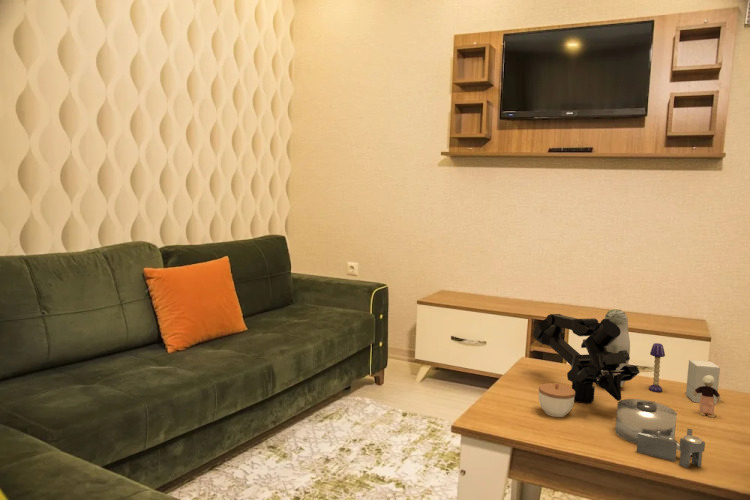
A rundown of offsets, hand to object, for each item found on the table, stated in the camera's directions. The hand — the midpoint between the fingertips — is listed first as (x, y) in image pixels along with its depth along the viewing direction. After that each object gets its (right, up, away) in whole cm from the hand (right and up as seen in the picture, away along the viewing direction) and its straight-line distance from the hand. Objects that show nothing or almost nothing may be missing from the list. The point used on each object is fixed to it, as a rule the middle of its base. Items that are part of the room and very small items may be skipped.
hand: (619, 400), depth 165 cm
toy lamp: (+26, -5, +30) cm, 40 cm away
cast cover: (+3, -8, -9) cm, 12 cm away
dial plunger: (+6, -7, -23) cm, 24 cm away
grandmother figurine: (+31, -7, +9) cm, 33 cm away
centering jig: (+5, -9, -22) cm, 25 cm away
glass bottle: (+11, -4, +32) cm, 34 cm away
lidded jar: (-17, -6, +5) cm, 19 cm away
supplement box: (+37, -6, +22) cm, 44 cm away
